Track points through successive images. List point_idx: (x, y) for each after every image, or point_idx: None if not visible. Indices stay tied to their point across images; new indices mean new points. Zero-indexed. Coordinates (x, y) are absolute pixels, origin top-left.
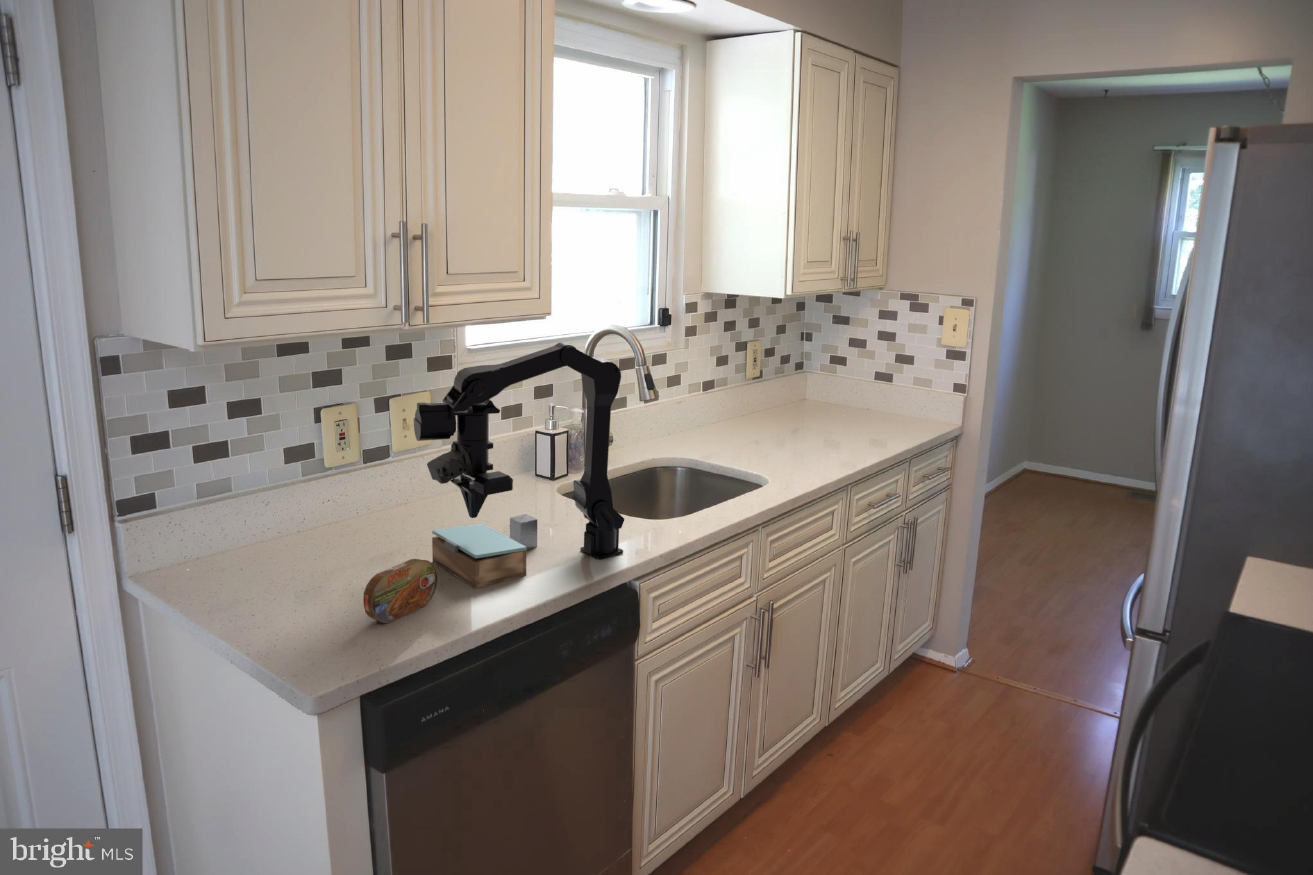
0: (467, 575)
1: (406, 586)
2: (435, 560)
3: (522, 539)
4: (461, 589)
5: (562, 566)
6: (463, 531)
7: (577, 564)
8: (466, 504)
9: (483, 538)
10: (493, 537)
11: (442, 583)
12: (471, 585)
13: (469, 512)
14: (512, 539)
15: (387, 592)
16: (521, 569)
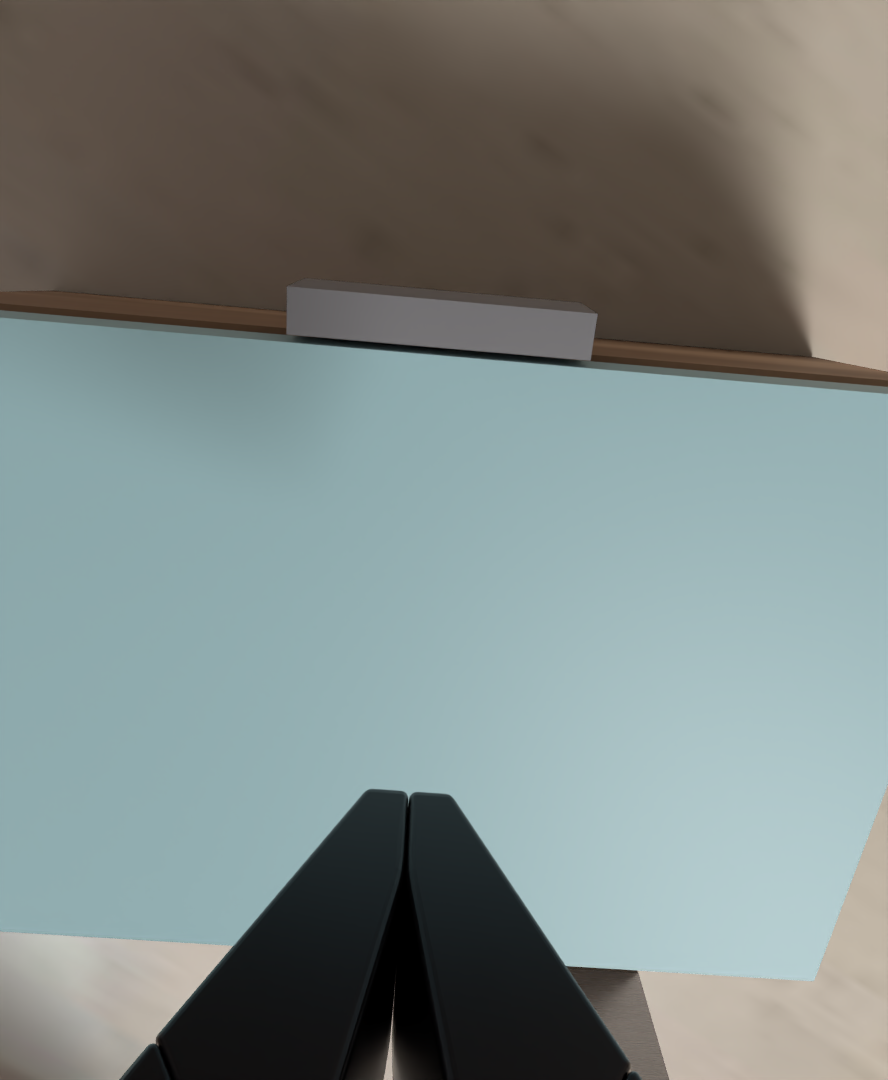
0: (163, 304)
1: None
2: (771, 355)
3: None
4: (108, 181)
5: (81, 995)
6: (724, 702)
7: (57, 1071)
8: (506, 967)
9: (384, 743)
10: None
11: (332, 123)
12: (121, 297)
13: (416, 842)
14: (616, 1019)
15: None
16: None
